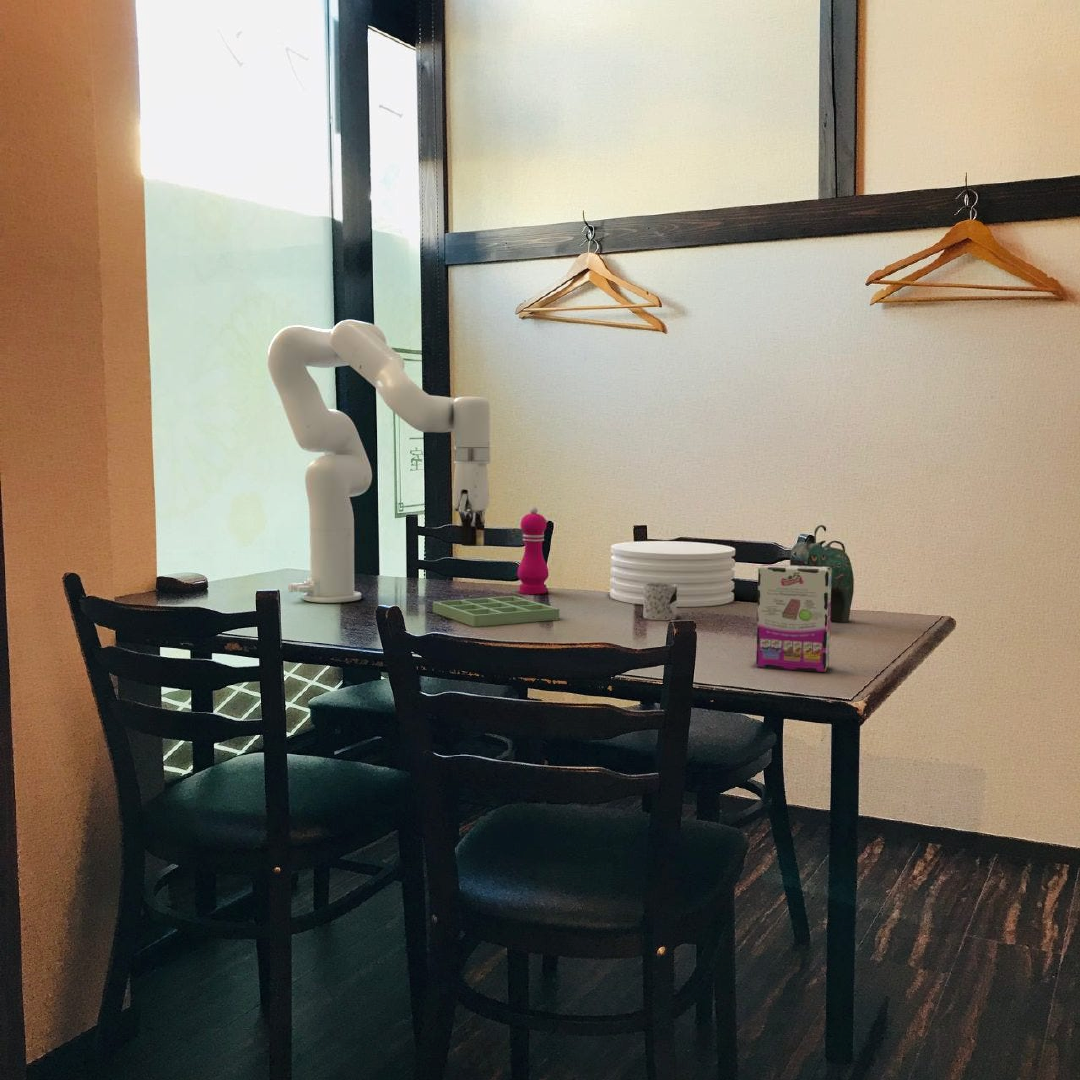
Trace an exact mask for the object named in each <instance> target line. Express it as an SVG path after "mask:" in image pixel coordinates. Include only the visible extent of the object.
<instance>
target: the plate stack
mask: <svg viewBox="0 0 1080 1080" xmlns="http://www.w3.org/2000/svg"><path fill="white" fill-rule="evenodd" d="M610 552H611V553H612V554H613V555H611V556H610V564H611V565H613V566H611V567H610V572H609V573H610V576H611V578H610V580H609V585H610V587H612V588H610V590H609V597H610V598H611V599H613V600H615V601H619V602H623V603H628V604H634V605H642V606H644V584H647V583H670V584H675V585H677V604H676V608H695V607H696V608H697V607H712V606H713V607H715V606H720V605H721V606H722V605H727V604H730V603H732V602H733V601H734V600H735V593H734V592H733V590H734V589H735V581H733V579H734V578H735V577H736V576H735V573H736V572H735V570H734V569H733V568H734V567H735V566H736V560H735V559H734V558H732V557H734V556H736V548H735V547H733V546H730V545H724V544H719V543H709V542H698V541H674V540H643V541H641V540H639V541H625V542H618V543H614V544H611V545H610ZM612 576H613V577H612Z"/></svg>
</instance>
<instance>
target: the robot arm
mask: <svg viewBox="0 0 1080 1080" xmlns="http://www.w3.org/2000/svg"><path fill="white" fill-rule="evenodd" d="M405 363H406V362H405V360H404V358H403V356H401V355H400V354H399V353H398V352H396V350H394V349H393V348H392V347H390V346H389V345H388V344H387V339H386V336H385V334H384V332H383V331H382V329H381V328H380V327H378V326H377V325H375V324H374V323H371V322H366V321H361V320H355V319H345V320H341V321H340V322H338V323H336V325H334V327H333V328H331V329H323V328H317V327H313V326H312V327H311V326H305V325H290V326H287V327H284V328H282V329H281V330H279V331H278V333H276V334H275V335H274V337H273V339H272V340H271V342H270V345H269V347H268V351H267V367H268V372H269V374H270V375H269V376H270V377H271V380H272V383H273V385H274V387H275V390H276V391H277V394H278V396H279V399H280V401H281V403H282V406H283V409H284V412H285V415H286V417H287V420H288V423H289V425H290V428H291V430H292V433H293V437H294V438H295V440H296V443H297V445H298V446H299V447H300V448H301V449H302V450H304V451H306V452H310V453H323V454H324V455H321V456H319V457H316V458H315V459H314V460H312V461H311V462H310V463H309V464H308V467H307V468H306V472H305V476H304V483H305V484H304V485H305V491H306V495H307V501H308V511H309V512H308V514H309V558H310V559H309V562H310V564H309V565H310V567H309V572H310V574H309V575H310V577H306V578H305V580H304V581H302V582H299V583H298V582H293V583H288V584H287V585H288V586H287V588H288V589H287V590H288V592H289V593H303V594H302V599H303V600H304V601H306V602H311V603H324V604H335V603H337V604H338V603H348V602H350V603H351V602H355V601H360V600H361V599H362V593H361V592H360V591H356V590H355V517H354V515H355V514H354V511H353V505H352V502H351V497H352V498H353V497H358V496H360V495H362V494H365V493H366V492H367V491H368V489H369V488H370V486H371V484H372V479H373V471H372V466H371V463H370V461H369V458H368V455H367V453H366V450H365V448H364V445H363V442H362V440H361V438H360V434H359V432H358V430H357V427H356V425H355V424H354V422H353V420H352V419H351V418H350V417H349V416H348V415H347V414H346V413H345V412H343V411H341V410H338V409H332V408H331V409H330V408H328V407H327V406H326V404H325V402H324V399H323V396H322V395H321V390H320V389H319V388H320V387H319V386H318V384H317V383H316V381H315V379H314V378H313V377H312V375H311V374H310V372H309V371H308V369H307V368H308V367H312V368H321V369H329V368H337V367H345V366H350V367H351V368H352V369H353V370H354V371H356V372H357V374H359V375H360V376H361V377H363V378H364V379H365V380H366V381H367V382H368V383H370V384H371V385H372V386H373V387H374V388H375V389H376V390H377V393H378V394H379V397H381V399H382V400H383V402H384V403H385V405H386V406H387V407H388V408H389V409H390V410H391V411H392V412H393V413H394V414H396V415H397V416H398V417H399V418H400V419H401V420H403V422H405V423H406V424H408V426H410V427H411V428H412V429H414V430H417V431H419V432H423V433H451V432H453V464H455V466H454V472H453V473H454V474H453V490H452V491H453V492H452V509H453V510H454V511H455V512H457V513H458V515H459V519H460V545H461V546H464V547H477V546H476V545H477V530H483V538H484V543H485V541H486V540H485V539H486V535H485V534H486V533H485V532H486V530H485V529H486V528H485V526H486V525H485V524H486V523H485V522H486V518H485V516H486V510H487V508H488V507H489V502H490V487H489V486H490V485H489V473H488V471H489V470H488V465H489V464H491V408H490V407H491V405H490V401H489V399H488V398H487V397H484V396H458V397H456V398H455V397H449V396H441V395H432V394H431V395H430V394H428V393H427V392H426V391H424V390H423V389H422V388H420V386H418V385H417V384H416V383H415V382H414V381H413V380H411V378H410V377H408V375H407V373H406V372H405Z"/></svg>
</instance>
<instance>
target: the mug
mask: <svg viewBox="0 0 1080 1080" xmlns="http://www.w3.org/2000/svg"><path fill="white" fill-rule="evenodd" d="M676 604H677V585H675V584H670V583H647V584H644V605H643V607H642V608H643V611H642V612H643V613H642V614H643V615H642V616H643V619H646V620H651V621H673V620H676V619H677V607H676Z"/></svg>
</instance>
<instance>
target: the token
mask: <svg viewBox="0 0 1080 1080" xmlns="http://www.w3.org/2000/svg"><path fill="white" fill-rule="evenodd" d="M484 545H485V542H484V538H483V530H477V545H476V546H475V547H481V546H484Z"/></svg>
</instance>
